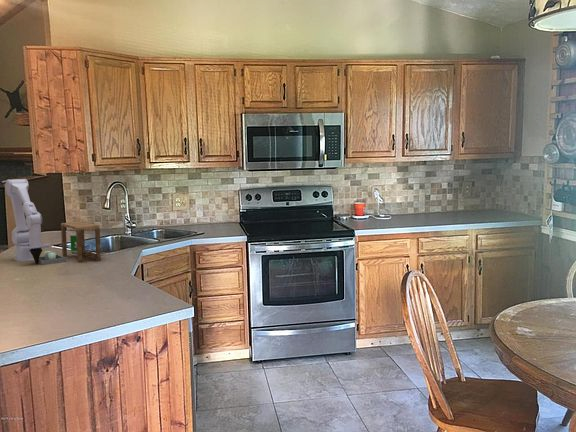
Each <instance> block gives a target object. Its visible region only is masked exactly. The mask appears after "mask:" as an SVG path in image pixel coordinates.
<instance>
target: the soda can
mask: <svg viewBox="0 0 576 432" xmlns="http://www.w3.org/2000/svg"><path fill="white" fill-rule="evenodd" d="M69 237H70V238H69V239H70V251H71V253H72V254H77V239H76V231H72V232H71V233H70V234H69Z"/></svg>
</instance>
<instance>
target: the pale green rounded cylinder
mask: <svg viewBox="0 0 576 432" xmlns="http://www.w3.org/2000/svg"><path fill="white" fill-rule="evenodd" d="M51 252H53V251H52V250H45V251H44V252H43V253H44V255H43V256H44V257H45V261H46V260H48V253H51Z"/></svg>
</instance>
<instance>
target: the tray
mask: <svg viewBox="0 0 576 432" xmlns="http://www.w3.org/2000/svg"><path fill="white" fill-rule="evenodd" d="M59 263H60V264H61V263H67V257H63V255H60V254H56V259H53V260H46V261H45V257H44V255H43V256H40V257H39V261H38V263H37V264H39V265H41V266H46V265H47V266H48V265H53V264H59Z"/></svg>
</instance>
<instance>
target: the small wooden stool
mask: <svg viewBox="0 0 576 432" xmlns="http://www.w3.org/2000/svg"><path fill="white" fill-rule="evenodd" d="M100 226H101V225H99V224H94V223H91V222H87V221H73V222H62V223H60V230H61V232H60V233H61V250H62V251H61V252H62V255H61V256H62V257H65V258H67V257H68V248H67V247H68V246H67V228H68V229H69V228H70V229H72V230H75V232H76V239H77V253H76V255H77V258H76V259H77V263H83V256H84V257H87V258H90V259H93V260H95V259H96V260H95V261H99V260H100V261H101V260H102V257H101V256H102V255H101V253H102V252H101V231H100V230H101V228H100ZM91 229H94V236H95V237H94V238H95V252H93V251H90V250H87V249H86V246H85V245H86V243H85V230H91Z"/></svg>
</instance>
